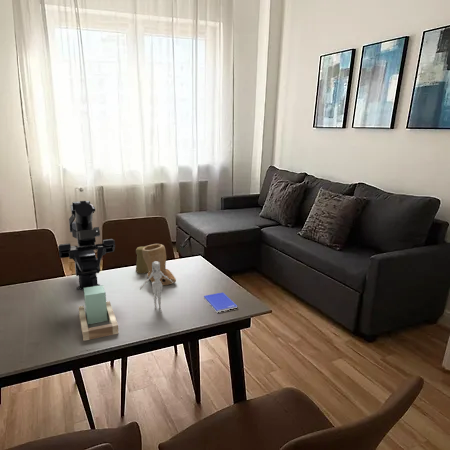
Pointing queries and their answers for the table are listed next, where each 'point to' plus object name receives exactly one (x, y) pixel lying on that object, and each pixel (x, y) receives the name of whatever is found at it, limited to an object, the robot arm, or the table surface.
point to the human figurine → (156, 283)
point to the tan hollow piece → (158, 254)
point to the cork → (141, 262)
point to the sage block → (95, 304)
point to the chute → (99, 330)
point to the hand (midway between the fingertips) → (90, 269)
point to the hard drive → (220, 302)
